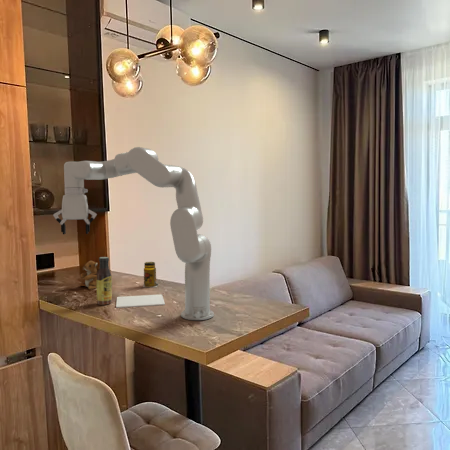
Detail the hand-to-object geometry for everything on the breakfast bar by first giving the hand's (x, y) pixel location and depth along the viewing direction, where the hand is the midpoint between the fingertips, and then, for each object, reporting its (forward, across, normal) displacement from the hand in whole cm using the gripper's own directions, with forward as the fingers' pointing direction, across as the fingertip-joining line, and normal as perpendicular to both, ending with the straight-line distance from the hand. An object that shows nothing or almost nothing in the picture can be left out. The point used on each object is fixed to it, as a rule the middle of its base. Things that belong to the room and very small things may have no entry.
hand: (75, 233), depth 176 cm
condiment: (+31, -32, -29) cm, 53 cm away
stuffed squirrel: (+31, -5, -34) cm, 46 cm away
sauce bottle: (+31, -11, 0) cm, 32 cm away
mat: (+30, -26, 0) cm, 40 cm away
